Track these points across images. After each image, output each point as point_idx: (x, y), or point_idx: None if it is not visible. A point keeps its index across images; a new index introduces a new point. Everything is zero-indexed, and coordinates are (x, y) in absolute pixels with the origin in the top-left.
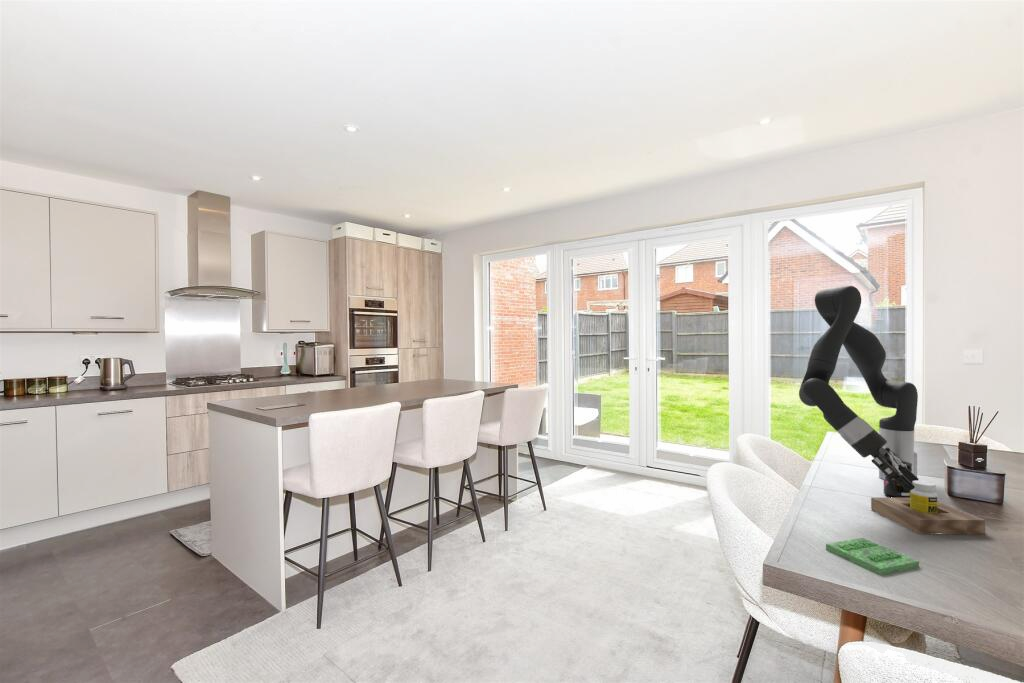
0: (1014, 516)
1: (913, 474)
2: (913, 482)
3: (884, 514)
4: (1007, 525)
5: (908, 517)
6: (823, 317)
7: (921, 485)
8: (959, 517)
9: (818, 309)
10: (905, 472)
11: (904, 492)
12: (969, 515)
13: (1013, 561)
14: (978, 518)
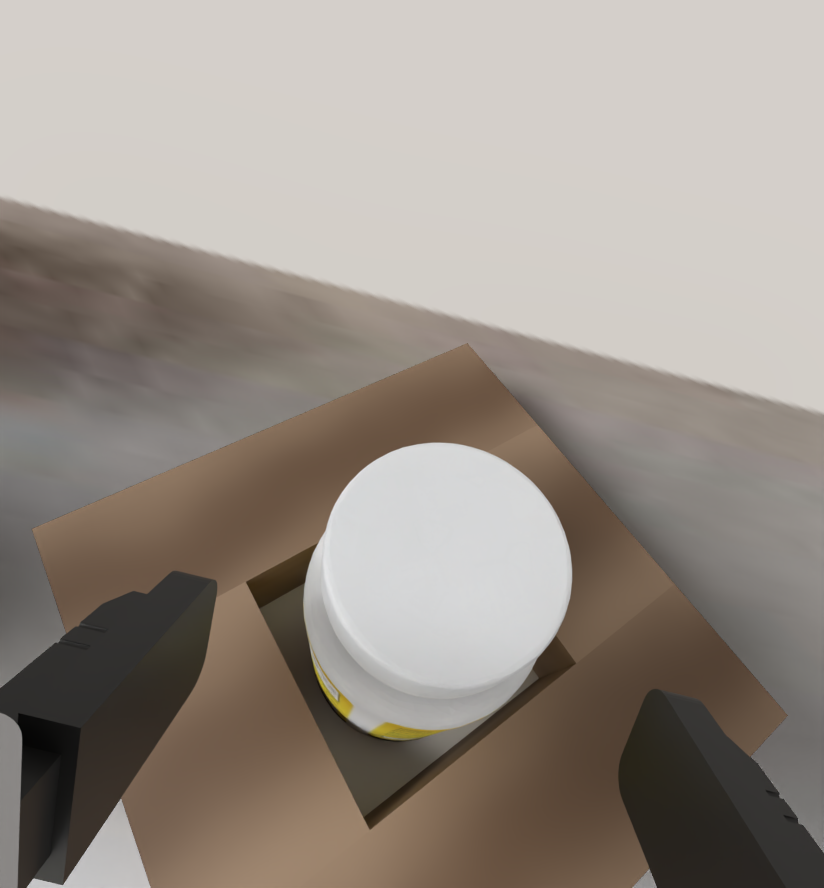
0: (61, 215)
1: (147, 622)
2: (493, 680)
3: None
4: (239, 280)
5: None
6: None
7: (569, 597)
8: (511, 448)
9: None
10: (98, 761)
11: None
12: (423, 389)
13: (751, 398)
14: (460, 364)
